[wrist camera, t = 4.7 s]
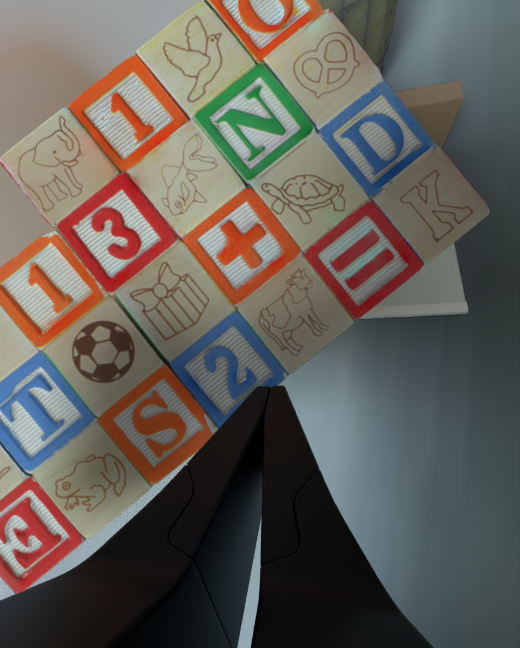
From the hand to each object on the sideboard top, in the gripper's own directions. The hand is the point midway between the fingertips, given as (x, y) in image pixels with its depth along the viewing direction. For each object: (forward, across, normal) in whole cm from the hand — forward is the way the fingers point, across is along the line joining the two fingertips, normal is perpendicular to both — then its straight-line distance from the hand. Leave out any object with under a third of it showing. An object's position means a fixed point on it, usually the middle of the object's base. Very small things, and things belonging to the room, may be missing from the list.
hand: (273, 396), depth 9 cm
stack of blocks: (+3, +1, +3) cm, 4 cm away
